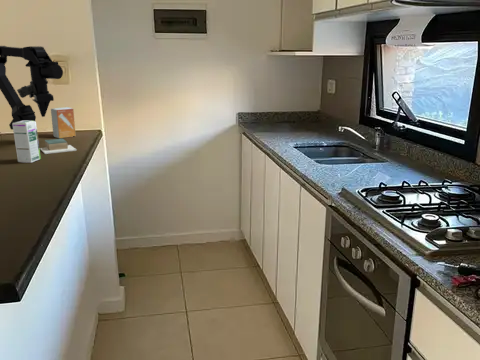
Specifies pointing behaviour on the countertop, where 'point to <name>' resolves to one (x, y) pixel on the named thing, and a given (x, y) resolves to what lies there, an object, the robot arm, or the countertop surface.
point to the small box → (63, 122)
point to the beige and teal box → (56, 144)
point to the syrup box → (26, 141)
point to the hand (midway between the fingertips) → (43, 116)
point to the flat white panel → (57, 150)
